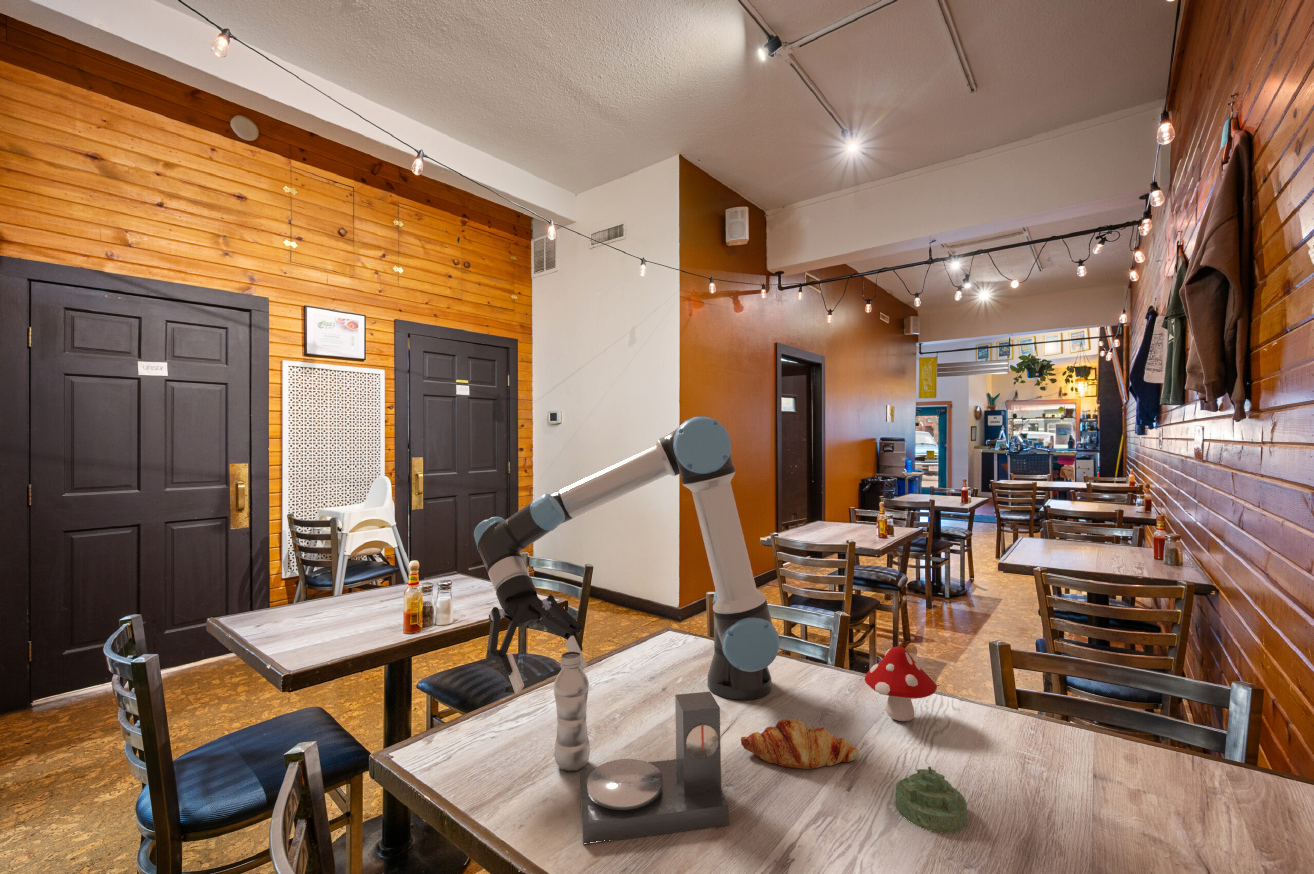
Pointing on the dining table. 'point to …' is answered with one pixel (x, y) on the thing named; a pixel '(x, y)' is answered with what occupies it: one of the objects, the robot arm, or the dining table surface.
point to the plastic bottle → (571, 714)
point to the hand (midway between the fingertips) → (552, 679)
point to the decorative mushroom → (900, 682)
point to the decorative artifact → (931, 802)
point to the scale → (671, 782)
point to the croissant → (799, 746)
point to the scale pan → (624, 784)
